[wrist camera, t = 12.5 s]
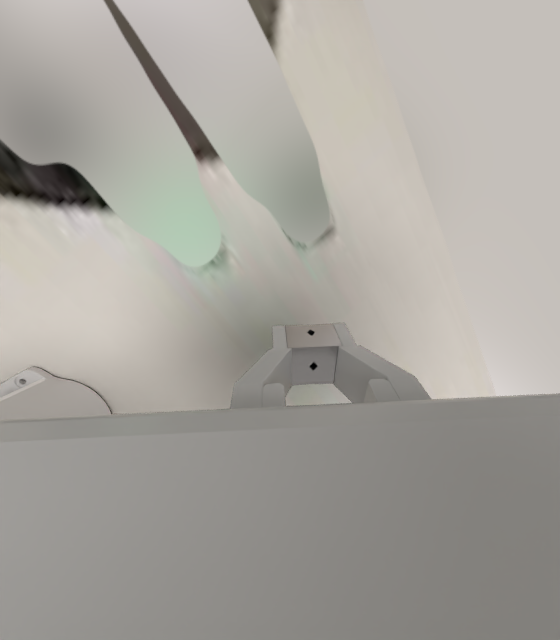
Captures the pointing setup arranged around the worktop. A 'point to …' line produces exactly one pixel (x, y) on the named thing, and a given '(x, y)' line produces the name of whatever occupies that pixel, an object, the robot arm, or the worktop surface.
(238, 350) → the worktop surface
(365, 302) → the worktop surface
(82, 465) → the robot arm
